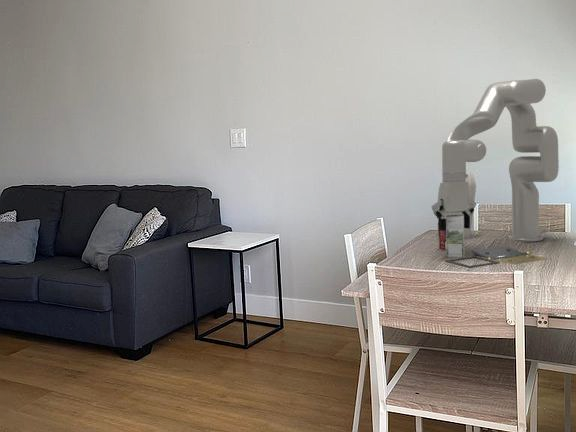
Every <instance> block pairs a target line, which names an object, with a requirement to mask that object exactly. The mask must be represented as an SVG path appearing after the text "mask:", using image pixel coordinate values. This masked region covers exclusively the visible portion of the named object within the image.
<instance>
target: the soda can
mask: <svg viewBox="0 0 576 432" xmlns="http://www.w3.org/2000/svg"><path fill="white" fill-rule="evenodd" d="M444 219H446V216H445V218H444ZM437 243H438V245H437V247H438V248H437V250H441V251H447V250H446V231H441V230H439V227H438V226H437Z"/></svg>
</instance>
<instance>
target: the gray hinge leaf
mask: <svg viewBox="0 0 576 432" xmlns="http://www.w3.org/2000/svg"><path fill="white" fill-rule="evenodd" d="M526 252H527V251H523V252H522V251H520V250H517V249H515V248H512V247H509V246H507V245H498V246H493V247H492V246H491V247H484V248H477V249H471V253H473V254H474V255H477V256H478V257H481V258H485V259H486V258H490V257H492V258H493V260H494V259H500V258H507V257H513V256H520V255H526V254H527V253H526ZM494 261H495V260H494Z"/></svg>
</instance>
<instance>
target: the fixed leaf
mask: <svg viewBox="0 0 576 432" xmlns="http://www.w3.org/2000/svg"><path fill="white" fill-rule="evenodd" d="M525 252H526V253H527V254H526V255H520V256H513V257H507V258H500V259H494V261H498V262H500V263H501V262H502V263H507V264H509V265H514V266H515V265H519V264H526V263H533V262H538V261H546V260H549V258H548V257H542V256H538V255H533V254H532V251H531V250H530V251H525ZM485 259H489V260H493V258H492V257H490V258H485Z"/></svg>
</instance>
